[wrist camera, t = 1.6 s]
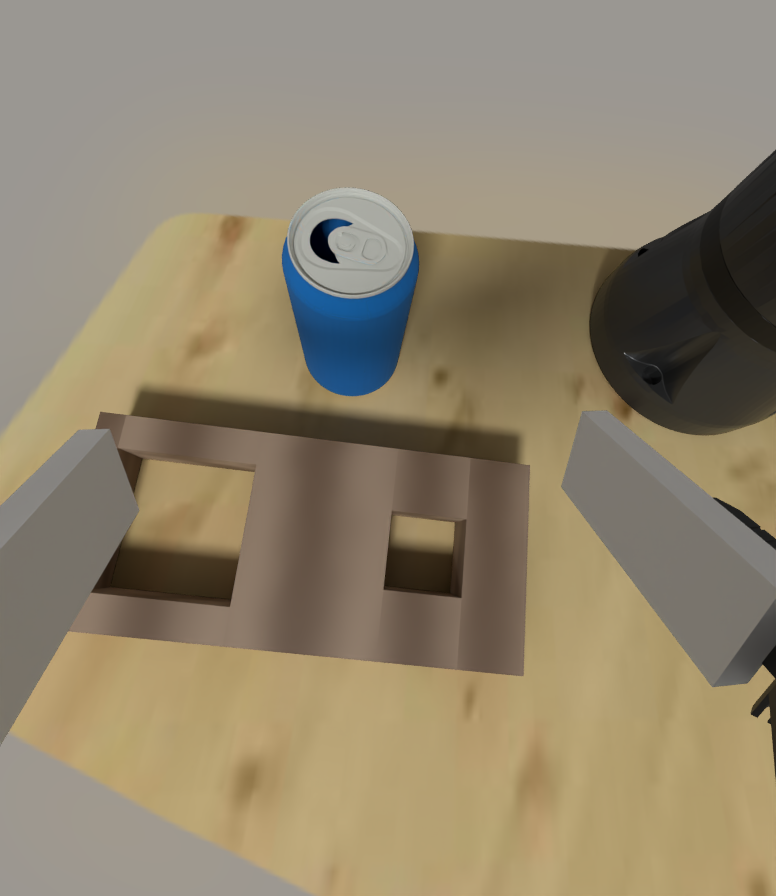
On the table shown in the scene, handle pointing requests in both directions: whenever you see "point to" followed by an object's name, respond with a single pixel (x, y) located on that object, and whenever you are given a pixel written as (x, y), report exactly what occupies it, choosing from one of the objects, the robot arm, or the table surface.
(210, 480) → the table surface
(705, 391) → the robot arm
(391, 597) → the hole board
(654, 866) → the table surface
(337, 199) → the beverage can
